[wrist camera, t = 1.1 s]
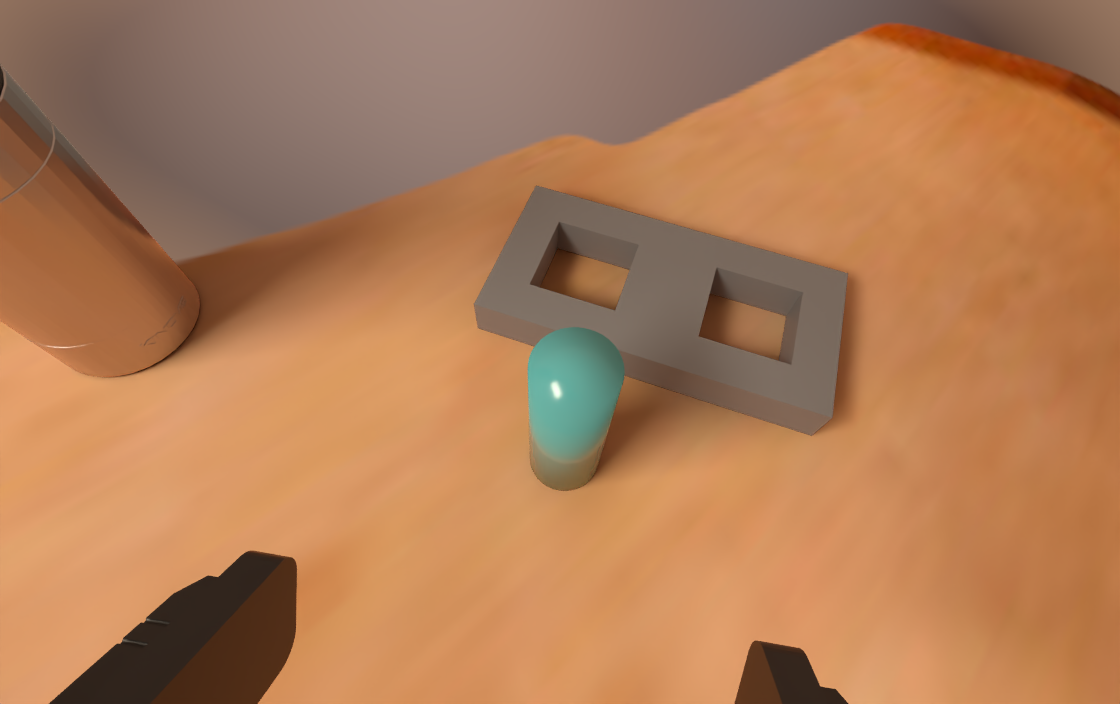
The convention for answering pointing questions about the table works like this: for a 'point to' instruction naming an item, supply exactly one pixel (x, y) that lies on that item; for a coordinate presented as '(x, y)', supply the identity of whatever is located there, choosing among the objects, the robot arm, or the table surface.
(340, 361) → the table surface
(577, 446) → the teal round-top peg
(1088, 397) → the table surface
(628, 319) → the rack
